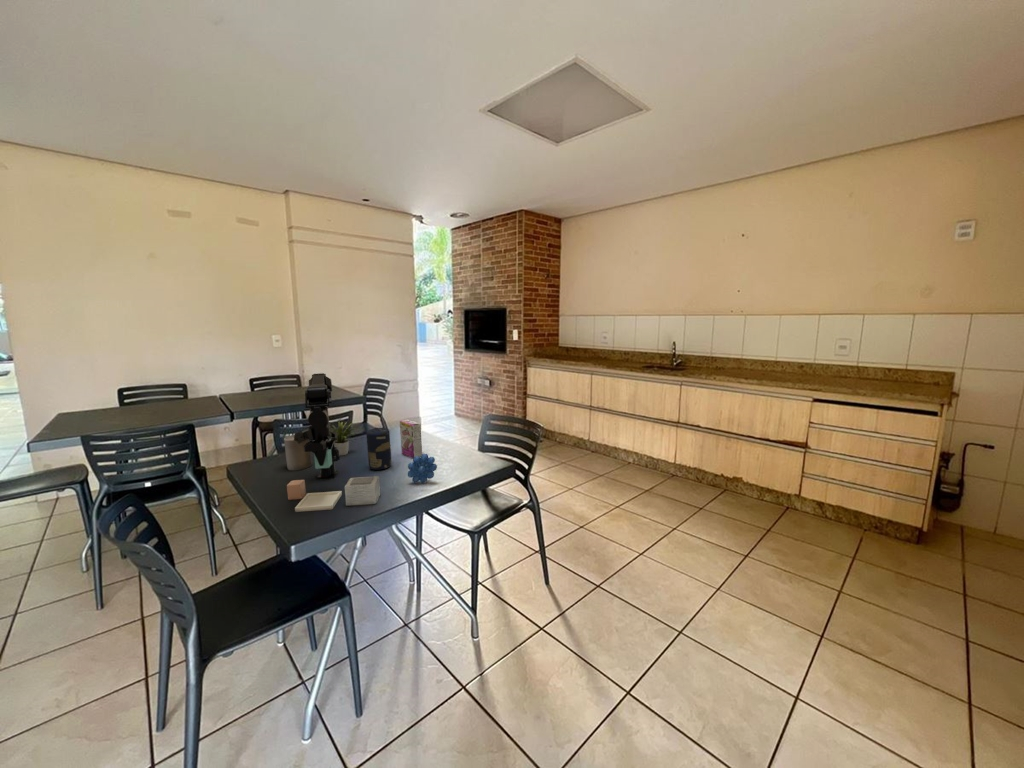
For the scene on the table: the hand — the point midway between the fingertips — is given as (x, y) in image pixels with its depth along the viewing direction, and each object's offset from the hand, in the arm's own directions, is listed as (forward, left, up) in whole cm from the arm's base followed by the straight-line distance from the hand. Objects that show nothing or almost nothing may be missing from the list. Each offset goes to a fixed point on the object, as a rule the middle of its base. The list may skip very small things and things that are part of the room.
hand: (323, 463), depth 148 cm
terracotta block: (-2, -11, -13) cm, 17 cm away
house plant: (-49, -8, -13) cm, 51 cm away
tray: (+5, -1, -13) cm, 14 cm away
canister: (-28, +14, -13) cm, 34 cm away
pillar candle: (-35, -22, -13) cm, 43 cm away
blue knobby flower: (-8, +34, -13) cm, 37 cm away
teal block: (0, 0, -1) cm, 1 cm away
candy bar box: (-42, +26, -13) cm, 51 cm away
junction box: (+5, +14, -13) cm, 20 cm away
